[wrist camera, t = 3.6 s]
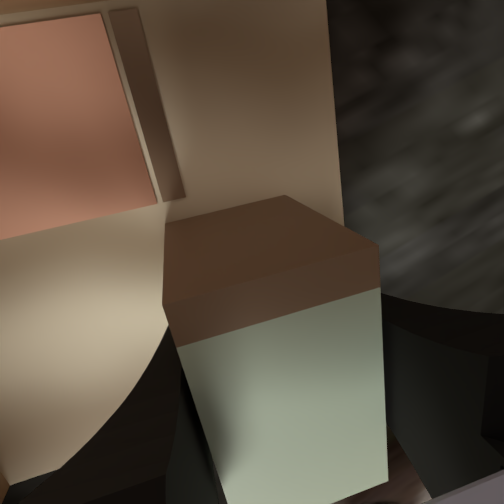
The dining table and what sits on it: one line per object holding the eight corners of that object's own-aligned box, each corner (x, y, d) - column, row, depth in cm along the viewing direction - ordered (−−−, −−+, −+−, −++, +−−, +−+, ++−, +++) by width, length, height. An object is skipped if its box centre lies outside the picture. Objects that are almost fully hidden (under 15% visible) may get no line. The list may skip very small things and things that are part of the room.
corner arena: (350, 362, 17) (394, 417, 13) (-16, 484, 14) (-69, 587, 11) (312, -70, 10) (378, -161, 7) (-369, 8, 8) (-750, -78, 5)
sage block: (308, 354, 15) (388, 481, 10) (212, 385, 15) (239, 539, 9) (285, 194, 12) (378, 245, 7) (164, 223, 12) (161, 305, 6)
